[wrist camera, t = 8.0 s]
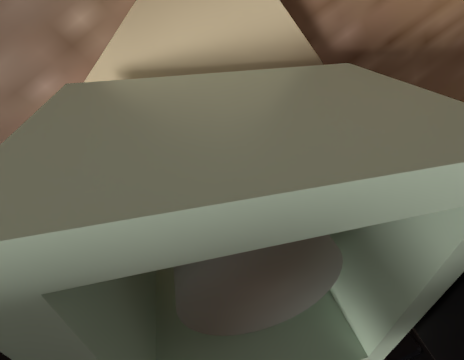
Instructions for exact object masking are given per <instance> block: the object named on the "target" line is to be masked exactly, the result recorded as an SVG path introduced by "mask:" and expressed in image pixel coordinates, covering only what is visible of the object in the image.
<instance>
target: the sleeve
mask: <svg viewBox="0 0 464 360" xmlns="http://www.w3.org/2000/svg"><path fill="white" fill-rule="evenodd" d="M328 234H329V235H330V237H331V238H332V239H333V241H334V242H335V243H336V245H337V246H338V248H339V249H340V251H341V254H342V258H343V264H342V269H341V272H340V275H339V277H338V279H337V281H336V282H335V283H334V285H333V286H332V287H331V289H330V290H329V291H328V292H327V293H326V294H325V295H324V296H323V297H322V298H321V299H320V300H319V301H317V302H316V303H315V304H313V305H312V306H311V307H309V308H308V309H306V310H305V311H303V312H302V313H300V314H298V315H296V316H295V317H293V318H291V319H289V320H287V321H284V322H282V323H280V324H277V325H275V326H272V327H269V328H266V329H263V330H259V331H255V332H251V333H246V334H239V335H228V336H217V335H208V334H203V333H199V332H197V331H194V330H192V329H190V328H188V327H187V326H186V325H184V324H183V323H182V322H181V320H180V319H179V317H178V315H177V311H176V301H175V284H174V267H175V266H180V265H185V264H190V263H194V262H199V261H204V260H209V259H214V258H218V257H223V256H228V255H233V254H238V253H242V252H247V251H252V250H257V249H261V248H266V247H271V246H276V245H281V244H285V243H290V242H295V241H300V240H305V239H309V238H314V237H319V236H324V235H328ZM463 272H464V102H462V101H459V100H456V99H453V98H450V97H447V96H444V95H441V94H438V93H435V92H432V91H429V90H426V89H424V88H421V87H418V86H415V85H412V84H409V83H406V82H403V81H400V80H397V79H394V78H391V77H388V76H385V75H382V74H379V73H377V72H374V71H371V70H368V69H365V68H362V67H359V66H356V65H353V64H350V63H340V64H327V65H313V66H300V67H286V68H273V69H259V70H246V71H233V72H219V73H206V74H192V75H179V76H165V77H152V78H138V79H125V80H111V81H98V82H84V83H71V84H65V85H64V86H63V87H62V88H61V89H60V90H59V91H58V92H57V93H56V94H55V95H54V96H52V97H51V98H50V99H49V100H48V101H47V102H46V103H45V104H44V105H43V106H42V107H41V108H40V109H38V110H37V111H36V112H35V113H34V114H33V115H32V116H31V117H30V118H29V119H28V120H27V121H26V122H24V123H23V124H22V125H21V126H20V127H19V128H18V129H17V130H16V131H15V132H14V133H13V134H11V135H10V136H9V137H8V138H7V139H6V140H5V141H4V142H3V143H2V144H1V145H0V352H1V353H3V354H4V355H6V356H7V357H9V358H10V359H11V360H384V359H385V357H386V356H387V355H388V354H389V353H390V352H391V351H392V350H393V349H394V348H395V346H396V345H397V344H398V343H399V342H400V341H401V340H402V339H403V338H404V337H405V336H406V334H407V333H408V332H409V331H410V330H411V329H412V328H413V327H414V326H415V325H416V323H417V322H418V321H419V320H420V319H421V318H422V317H423V316H424V315H425V314H426V312H427V311H428V310H429V309H430V308H431V307H432V306H433V305H434V304H435V303H436V302H437V300H438V299H439V298H440V297H441V296H442V295H443V294H444V293H445V292H446V291H447V289H448V288H449V287H450V286H451V285H452V284H453V283H454V282H455V281H456V280H457V278H458V277H459V276H460V275H461V274H462V273H463Z"/></svg>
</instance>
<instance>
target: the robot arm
mask: <svg viewBox="0 0 464 360" xmlns="http://www.w3.org/2000/svg"><path fill="white" fill-rule="evenodd" d="M0 360H11V359H10V358H9V357H7V356H6V355H4V354H3V353H1V352H0ZM384 360H464V272H463V273H462V274H461V275H460V276H459V277H458V278H457V280H456V281H455V282H454V283H453V284H452V285H451V286H450V287H449V288H448V289H447V291H446V292H445V293H444V294H443V295H442V296H441V297H440V298H439V299H438V300H437V302H436V303H435V304H434V305H433V306H432V307H431V308H430V309H429V310H428V311H427V312H426V314H425V315H424V316H423V317H422V318H421V319H420V320H419V321H418V322H417V323H416V325H415V326H414V327H413V328H412V329H411V330H410V331H409V332H408V333H407V334H406V336H405V337H404V338H403V339H402V340H401V341H400V342H399V343H398V344H397V345H396V346H395V348H394V349H393V350H392V351H391V352H390V353H389V354H388V355H387V356H386V357H385V359H384Z"/></svg>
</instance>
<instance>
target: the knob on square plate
mask: <svg viewBox="0 0 464 360" xmlns="http://www.w3.org/2000/svg"><path fill="white" fill-rule="evenodd" d="M313 65H324V64H323V62H322V61H321V59H320V58H319V57H318V55H317V54H316V52H315V51H314V49H313V48H312V46H311V45H310V43H309V42H308V41H307V39H306V38H305V36H304V35H303V33H302V32H301V30H300V29H299V28H298V26H297V25H296V23H295V22H294V20H293V19H292V17H291V16H290V15H289V13H288V12H287V10H286V9H285V7H284V6H283V4H282V3H281V2H280V0H136V2H135V3H134V5H133V6H132V8H131V9H130V11H129V13H128V14H127V16H126V17H125V19H124V20H123V22H122V24H121V25H120V27H119V28H118V30H117V31H116V33H115V35H114V36H113V38H112V39H111V41H110V42H109V44H108V45H107V47H106V49H105V50H104V52H103V53H102V55H101V56H100V58H99V60H98V61H97V63H96V64H95V66H94V67H93V69H92V71H91V72H90V74H89V75H88V77H87V78H86V80H85V81H84V82H98V81H111V80H125V79H138V78H152V77H165V76H179V75H192V74H206V73H219V72H233V71H246V70H259V69H273V68H286V67H300V66H313ZM342 264H343V258H342V254H341V251H340V249H339V248H338V246H337V245H336V243H335V242H334V241H333V239H332V238H331V237H330V235H329V234H328V235H324V236H319V237H314V238H309V239H305V240H300V241H295V242H290V243H285V244H281V245H276V246H271V247H266V248H261V249H257V250H252V251H247V252H242V253H238V254H233V255H228V256H223V257H218V258H214V259H209V260H204V261H199V262H194V263H190V264H185V265H180V266H175V267H174V284H175V301H176V311H177V315H178V317H179V319H180V320H181V322H182V323H183V324H184V325H186V326H187V327H188V328H190V329H192V330H194V331H197V332H199V333H203V334H208V335H217V336H228V335H239V334H246V333H251V332H255V331H259V330H263V329H266V328H269V327H272V326H275V325H277V324H280V323H282V322H284V321H287V320H289V319H291V318H293V317H295V316H296V315H298V314H300V313H302V312H303V311H305V310H306V309H308V308H309V307H311V306H312V305H313V304H315V303H316V302H317V301H319V300H320V299H321V298H322V297H323V296H324V295H325V294H326V293H327V292H328V291H329V290H330V289H331V287H332V286H333V285H334V283H335V282H336V281H337V279H338V277H339V275H340V272H341V269H342Z"/></svg>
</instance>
